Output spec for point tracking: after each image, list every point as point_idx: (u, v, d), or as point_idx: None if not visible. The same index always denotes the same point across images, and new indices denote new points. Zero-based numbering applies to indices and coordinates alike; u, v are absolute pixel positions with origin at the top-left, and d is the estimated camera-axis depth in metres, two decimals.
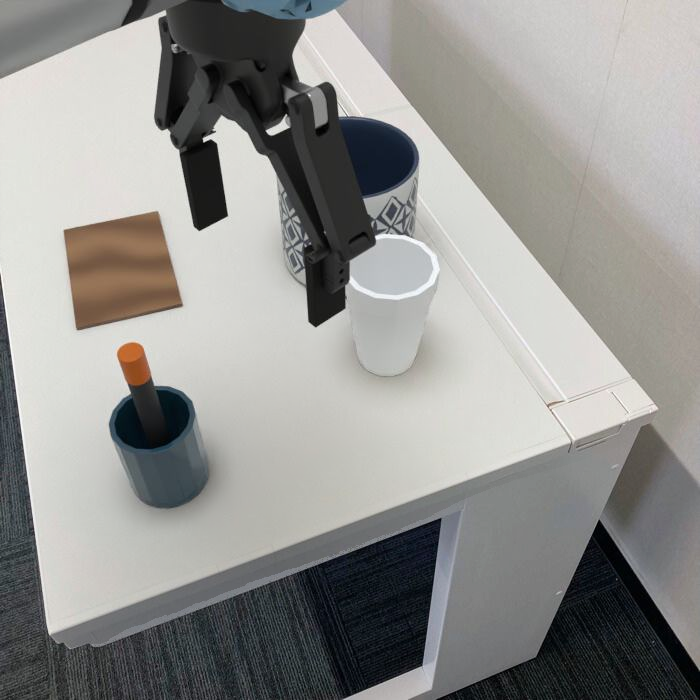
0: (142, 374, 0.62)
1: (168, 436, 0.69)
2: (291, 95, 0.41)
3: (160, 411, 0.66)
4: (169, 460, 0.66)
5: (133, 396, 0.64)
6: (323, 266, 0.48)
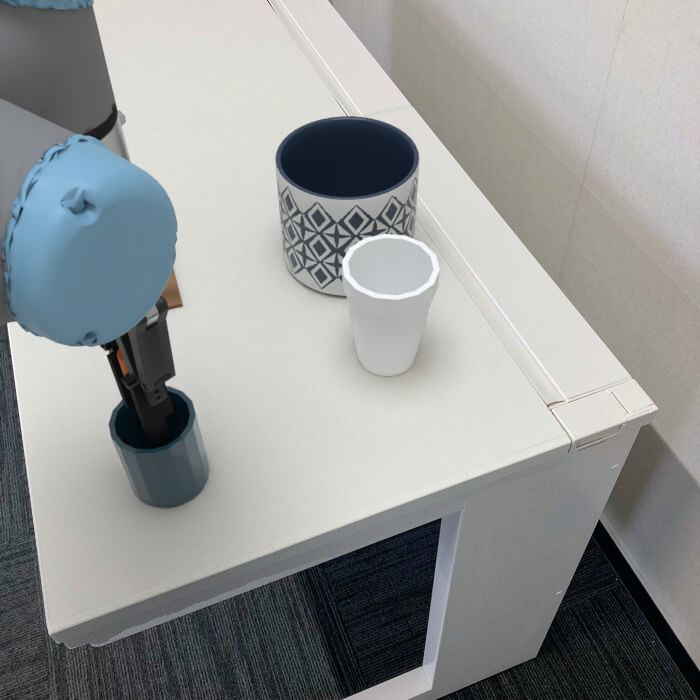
0: None
1: (168, 436, 0.69)
2: None
3: None
4: (169, 460, 0.66)
5: None
6: (142, 387, 0.61)
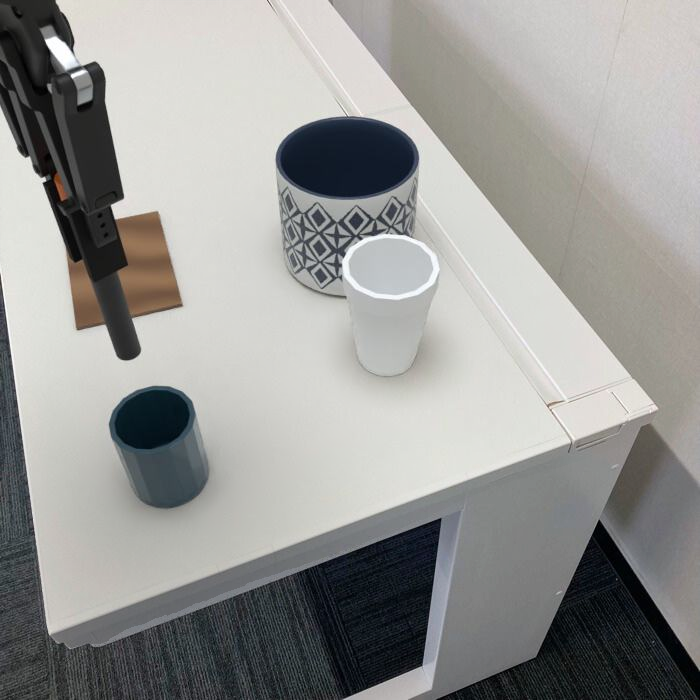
0: None
1: (124, 302, 0.58)
2: (57, 64, 0.40)
3: None
4: (169, 460, 0.66)
5: None
6: (85, 219, 0.50)
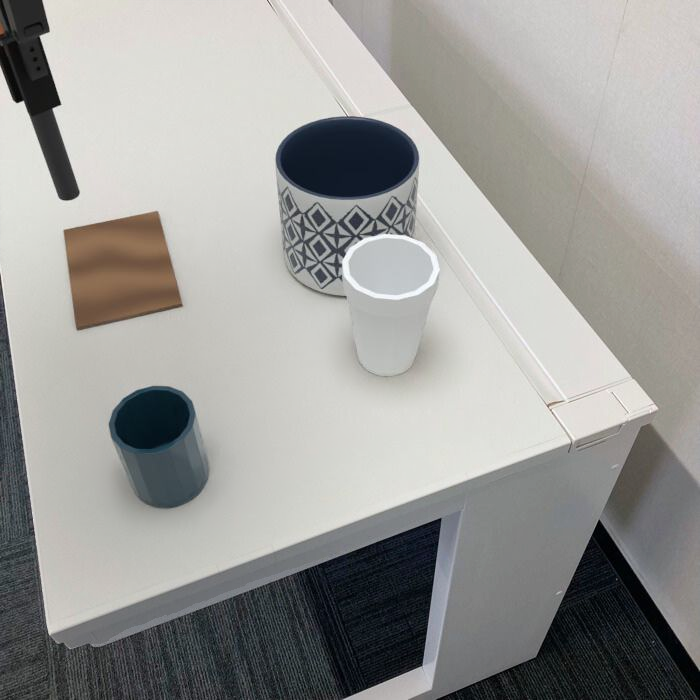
0: None
1: (62, 143, 0.68)
2: None
3: None
4: (169, 460, 0.66)
5: None
6: (20, 54, 0.60)
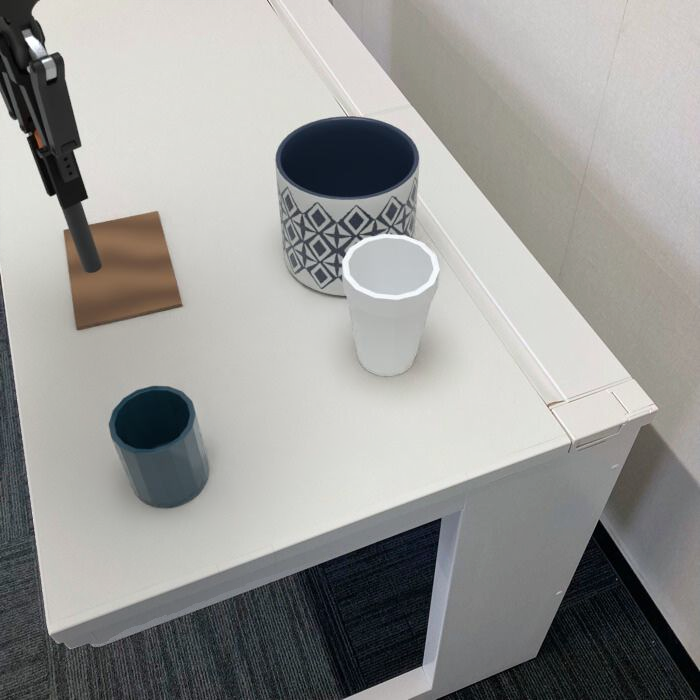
0: None
1: (87, 227, 0.80)
2: (33, 54, 0.62)
3: None
4: (169, 460, 0.66)
5: None
6: (55, 162, 0.72)
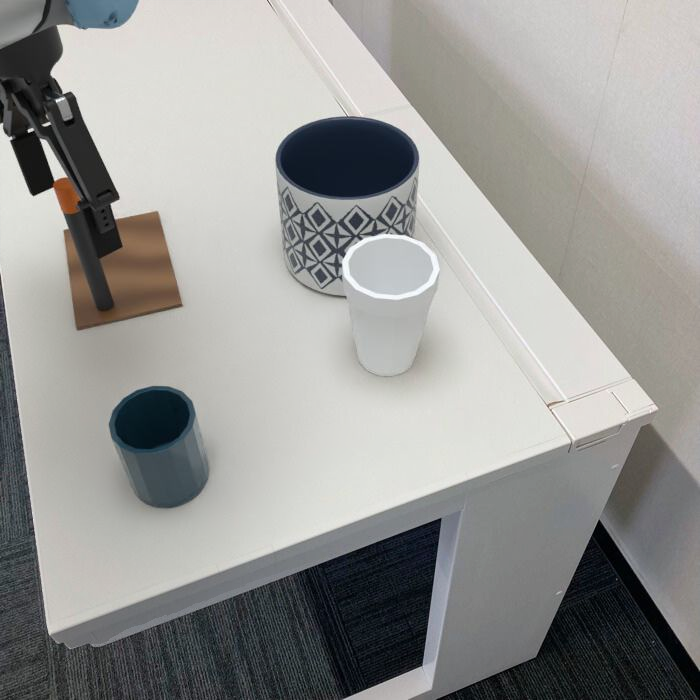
0: (74, 203, 0.77)
1: (101, 269, 0.84)
2: (48, 100, 0.65)
3: None
4: (169, 460, 0.66)
5: (68, 225, 0.79)
6: (92, 214, 0.71)
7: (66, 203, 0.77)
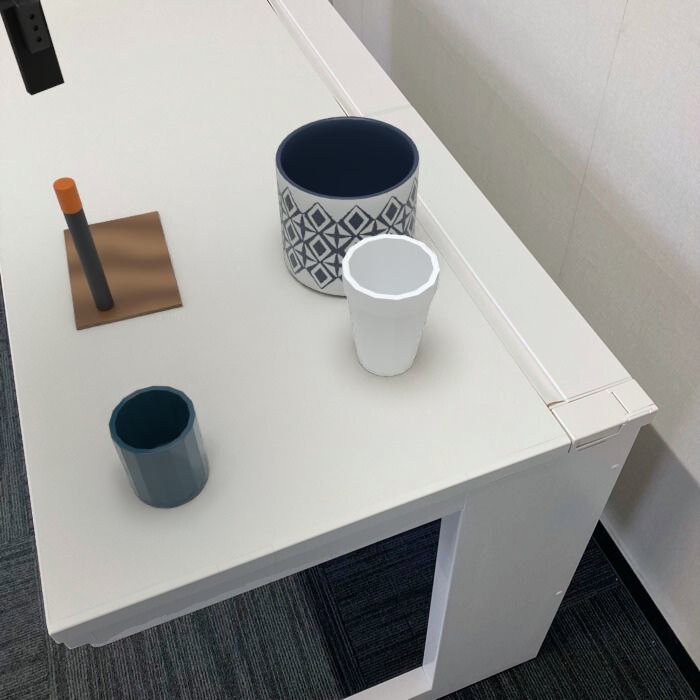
0: (74, 203, 0.77)
1: (101, 269, 0.84)
2: None
3: (92, 243, 0.82)
4: (169, 460, 0.66)
5: (68, 225, 0.79)
6: (18, 22, 0.53)
7: (66, 203, 0.77)
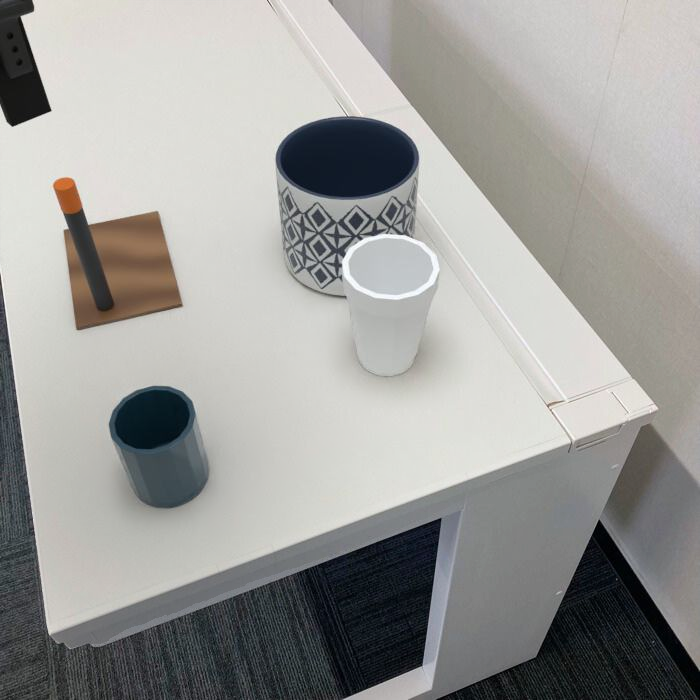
0: (74, 203, 0.77)
1: (101, 269, 0.84)
2: None
3: (92, 243, 0.82)
4: (169, 460, 0.66)
5: (68, 225, 0.79)
6: None
7: (66, 203, 0.77)
